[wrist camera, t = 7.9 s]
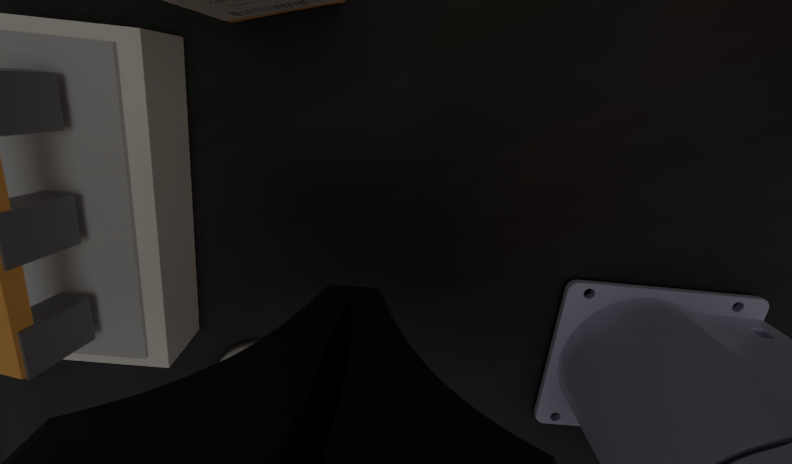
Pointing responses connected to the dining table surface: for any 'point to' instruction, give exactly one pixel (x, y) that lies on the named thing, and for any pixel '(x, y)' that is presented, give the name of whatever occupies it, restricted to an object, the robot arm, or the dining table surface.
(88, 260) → the tray
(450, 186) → the dining table surface
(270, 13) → the supplement box
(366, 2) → the dining table surface
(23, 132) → the bar
